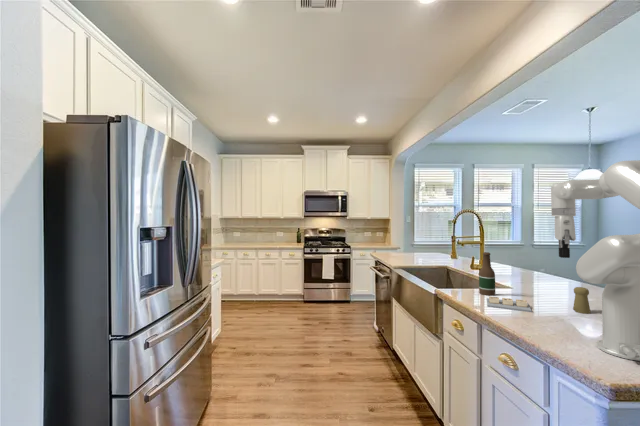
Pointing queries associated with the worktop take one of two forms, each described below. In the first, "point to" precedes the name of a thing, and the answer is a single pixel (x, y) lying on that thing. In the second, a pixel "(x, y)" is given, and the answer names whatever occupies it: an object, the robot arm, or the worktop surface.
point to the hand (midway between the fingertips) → (564, 257)
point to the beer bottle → (486, 277)
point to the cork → (581, 300)
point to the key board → (514, 307)
